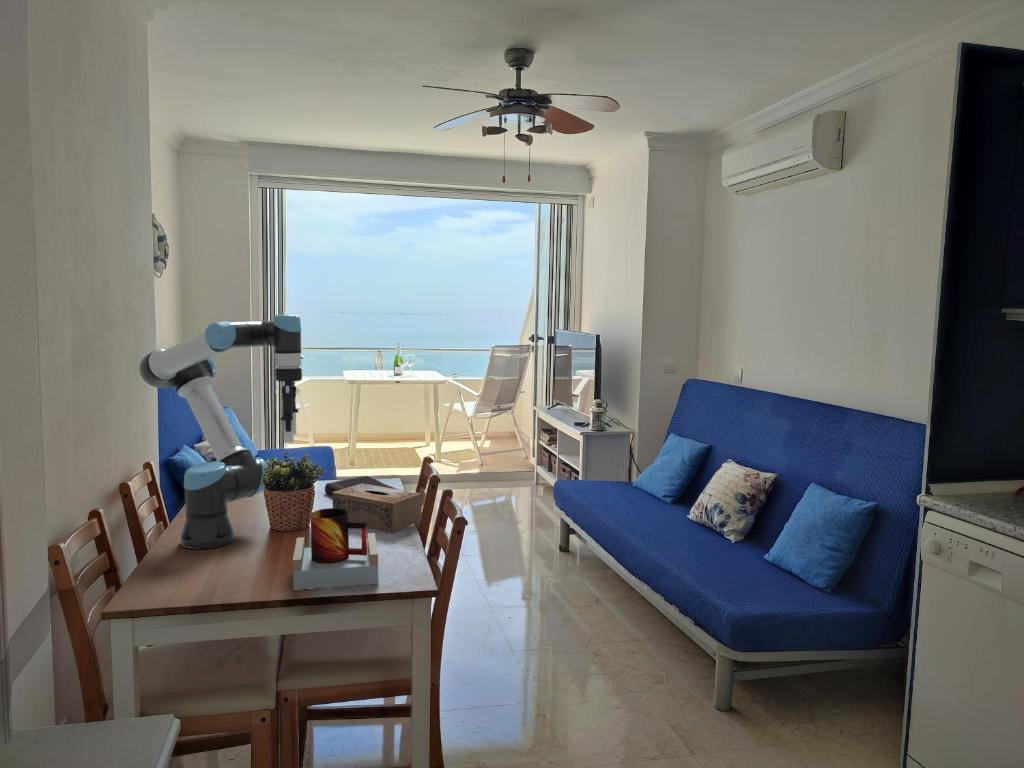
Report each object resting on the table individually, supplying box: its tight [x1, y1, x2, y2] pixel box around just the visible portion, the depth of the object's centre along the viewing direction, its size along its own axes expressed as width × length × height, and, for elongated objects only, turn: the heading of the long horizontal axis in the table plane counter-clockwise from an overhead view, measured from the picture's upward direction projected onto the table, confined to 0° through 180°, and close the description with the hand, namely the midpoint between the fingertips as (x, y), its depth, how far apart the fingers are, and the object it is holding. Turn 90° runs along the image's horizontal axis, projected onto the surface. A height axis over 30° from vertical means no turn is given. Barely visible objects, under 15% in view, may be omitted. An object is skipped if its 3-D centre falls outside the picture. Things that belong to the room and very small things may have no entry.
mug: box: [310, 507, 368, 564], centre depth 196 cm, size 10×14×12 cm
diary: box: [324, 475, 400, 497], centre depth 276 cm, size 19×25×5 cm
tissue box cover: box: [332, 483, 423, 534], centre depth 245 cm, size 26×14×10 cm, turn 59°
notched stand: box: [292, 532, 379, 590], centre depth 197 cm, size 21×18×8 cm
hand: (290, 438), depth 221 cm, fingers open, 13 cm apart
